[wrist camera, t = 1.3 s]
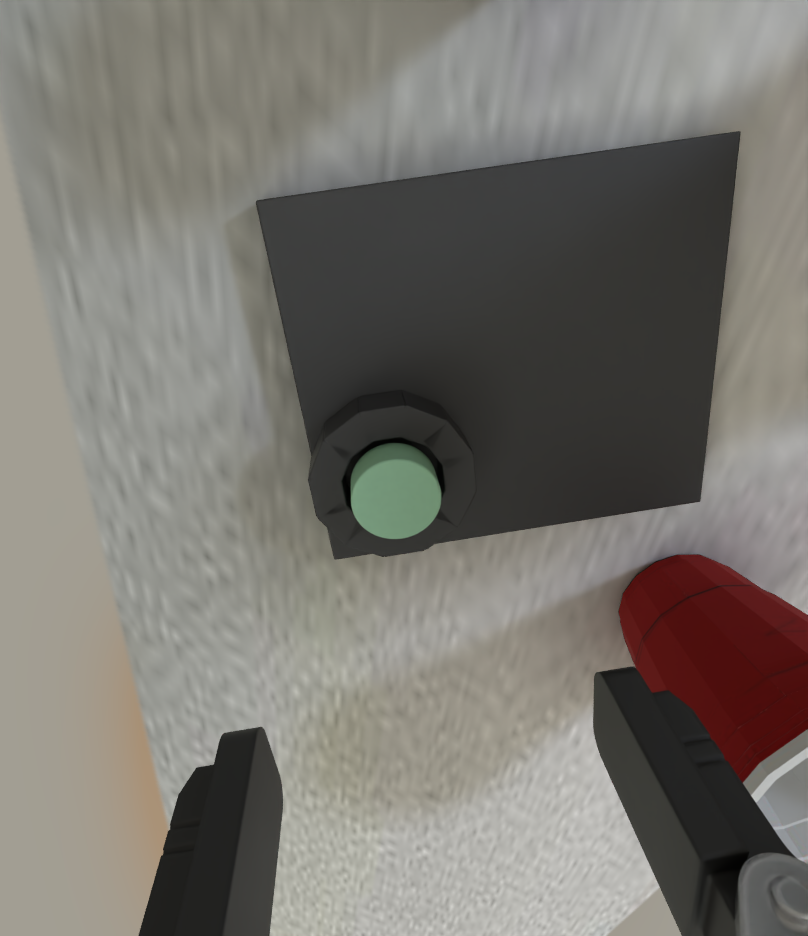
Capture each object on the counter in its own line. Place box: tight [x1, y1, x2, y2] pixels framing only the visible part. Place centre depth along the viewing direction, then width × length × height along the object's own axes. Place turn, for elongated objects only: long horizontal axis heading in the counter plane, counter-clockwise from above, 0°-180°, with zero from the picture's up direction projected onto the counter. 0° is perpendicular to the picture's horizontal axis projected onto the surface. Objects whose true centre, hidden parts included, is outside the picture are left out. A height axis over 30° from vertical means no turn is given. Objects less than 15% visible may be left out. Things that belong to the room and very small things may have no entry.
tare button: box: [351, 443, 442, 539], centre depth 21 cm, size 3×3×2 cm
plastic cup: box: [619, 555, 808, 864], centre depth 23 cm, size 11×11×12 cm
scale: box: [256, 131, 740, 559], centre depth 21 cm, size 14×16×3 cm
